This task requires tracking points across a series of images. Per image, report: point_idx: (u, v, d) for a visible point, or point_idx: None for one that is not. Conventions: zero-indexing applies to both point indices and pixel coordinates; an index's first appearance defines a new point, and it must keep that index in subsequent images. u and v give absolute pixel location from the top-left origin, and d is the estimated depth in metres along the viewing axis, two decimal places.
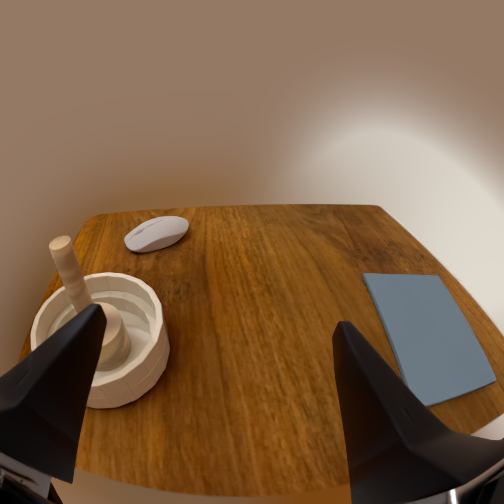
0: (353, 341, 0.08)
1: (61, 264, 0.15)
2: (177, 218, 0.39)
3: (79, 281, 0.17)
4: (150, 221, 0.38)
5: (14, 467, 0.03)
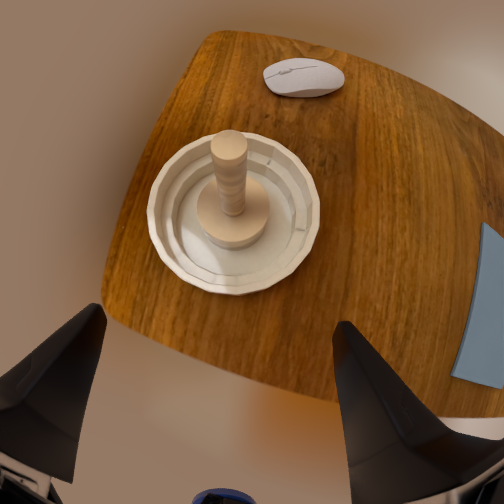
0: (353, 341, 0.08)
1: (226, 171, 0.13)
2: (334, 69, 0.26)
3: (242, 182, 0.15)
4: (300, 62, 0.26)
5: (14, 467, 0.03)
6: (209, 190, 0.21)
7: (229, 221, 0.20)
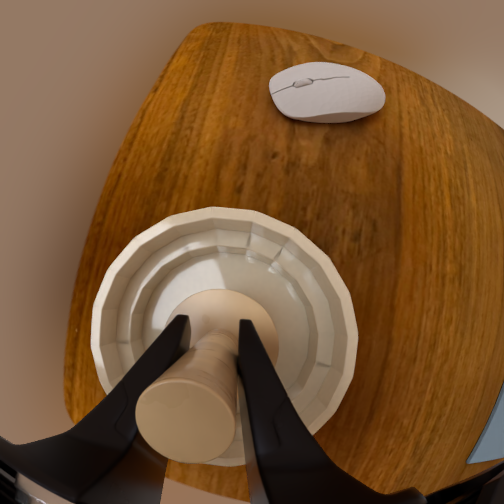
0: (243, 341, 0.08)
1: None
2: (372, 82, 0.17)
3: None
4: (324, 69, 0.17)
5: None
6: None
7: None
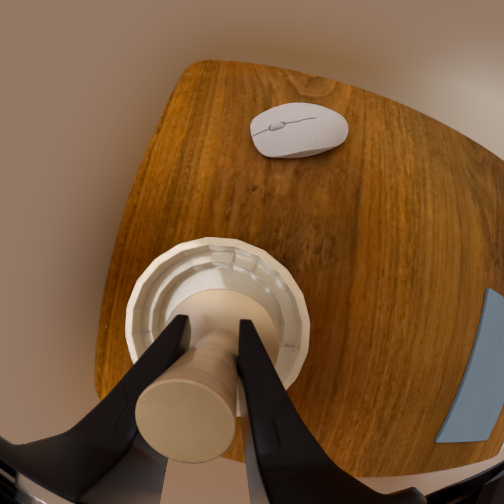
0: (243, 341, 0.08)
1: None
2: (336, 119, 0.23)
3: None
4: (295, 111, 0.23)
5: None
6: None
7: None
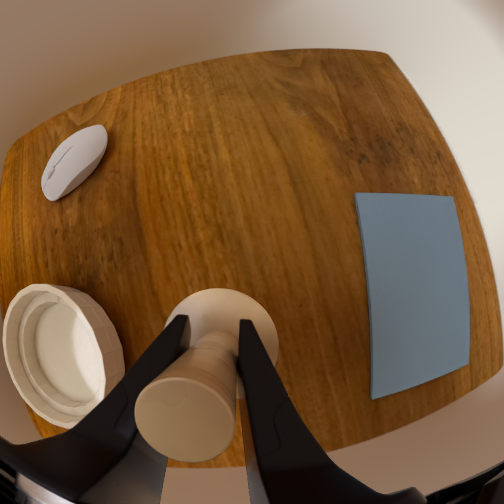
0: (243, 341, 0.08)
1: None
2: (90, 134, 0.22)
3: None
4: (60, 151, 0.22)
5: None
6: None
7: None
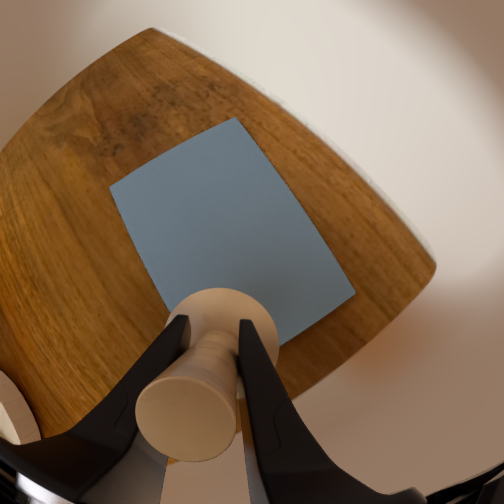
0: (243, 341, 0.08)
1: None
2: None
3: None
4: None
5: None
6: None
7: None
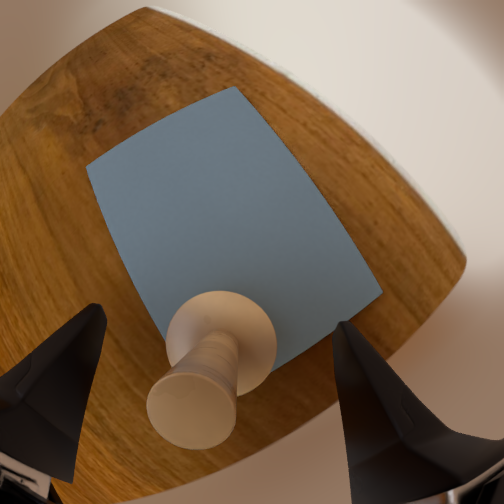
0: (353, 341, 0.08)
1: None
2: None
3: None
4: None
5: (14, 467, 0.03)
6: (183, 320, 0.13)
7: None
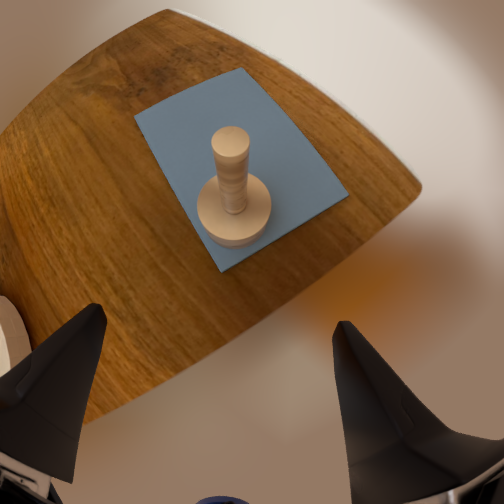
0: (353, 341, 0.08)
1: (228, 168, 0.13)
2: None
3: (244, 180, 0.15)
4: None
5: (14, 467, 0.03)
6: (210, 187, 0.20)
7: (231, 219, 0.20)
